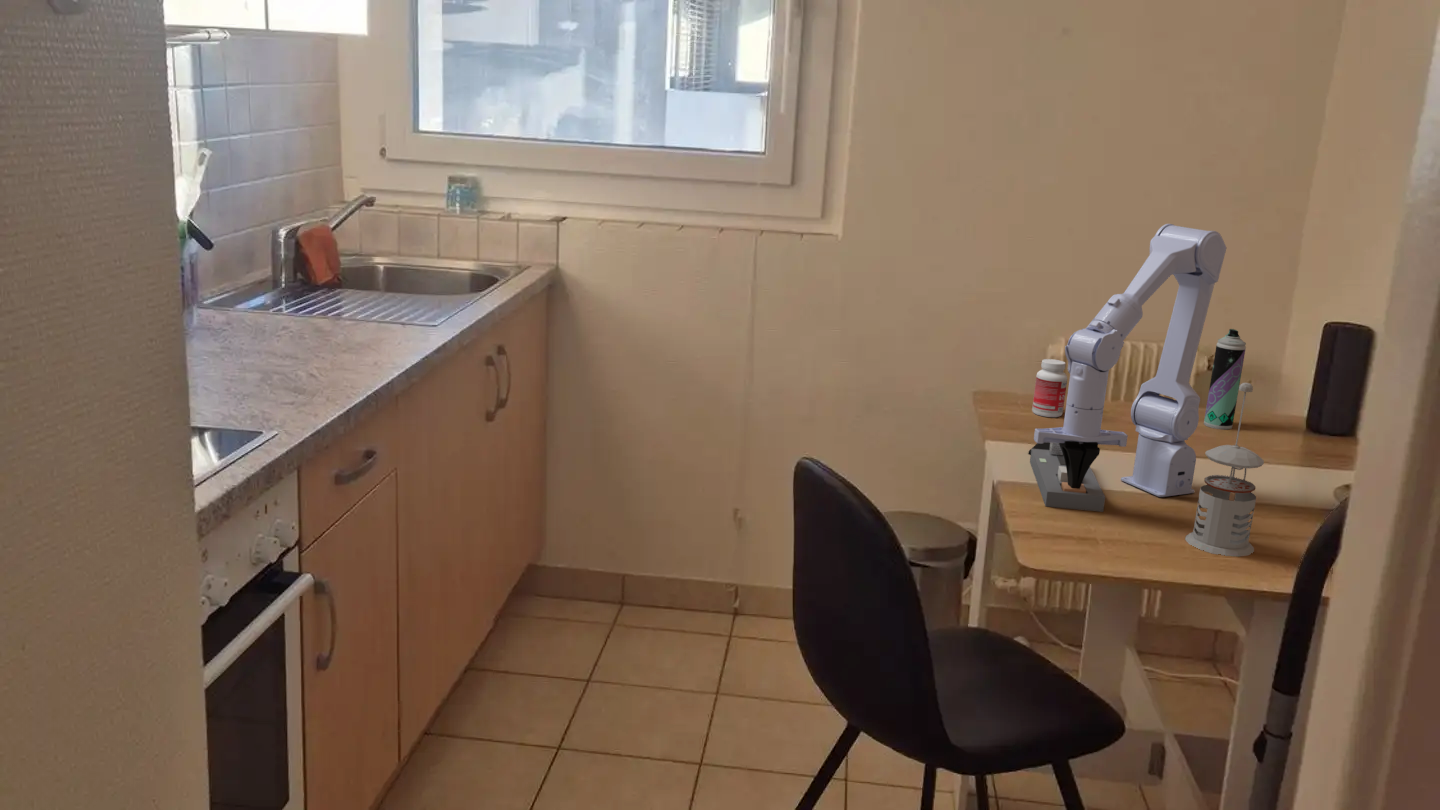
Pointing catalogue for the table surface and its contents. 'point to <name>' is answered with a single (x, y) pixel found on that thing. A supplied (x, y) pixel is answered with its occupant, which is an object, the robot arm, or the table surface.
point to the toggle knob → (1055, 449)
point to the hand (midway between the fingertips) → (1073, 486)
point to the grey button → (1062, 474)
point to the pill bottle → (1050, 389)
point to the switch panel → (1051, 489)
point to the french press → (1227, 501)
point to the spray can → (1225, 381)
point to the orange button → (1067, 488)
